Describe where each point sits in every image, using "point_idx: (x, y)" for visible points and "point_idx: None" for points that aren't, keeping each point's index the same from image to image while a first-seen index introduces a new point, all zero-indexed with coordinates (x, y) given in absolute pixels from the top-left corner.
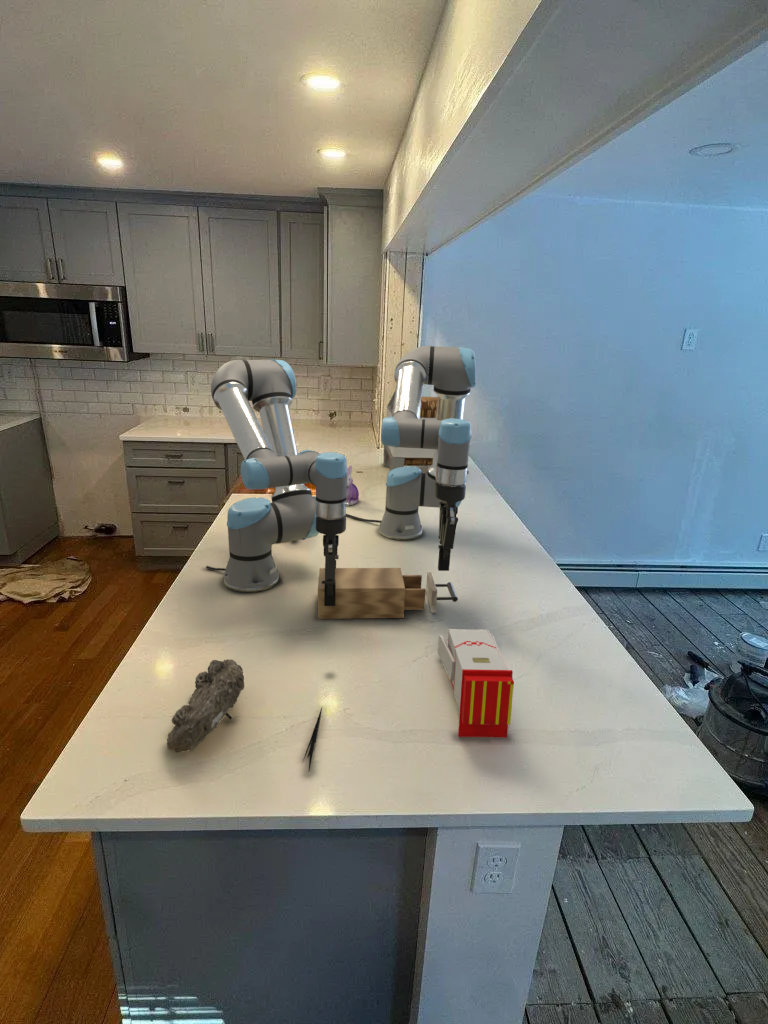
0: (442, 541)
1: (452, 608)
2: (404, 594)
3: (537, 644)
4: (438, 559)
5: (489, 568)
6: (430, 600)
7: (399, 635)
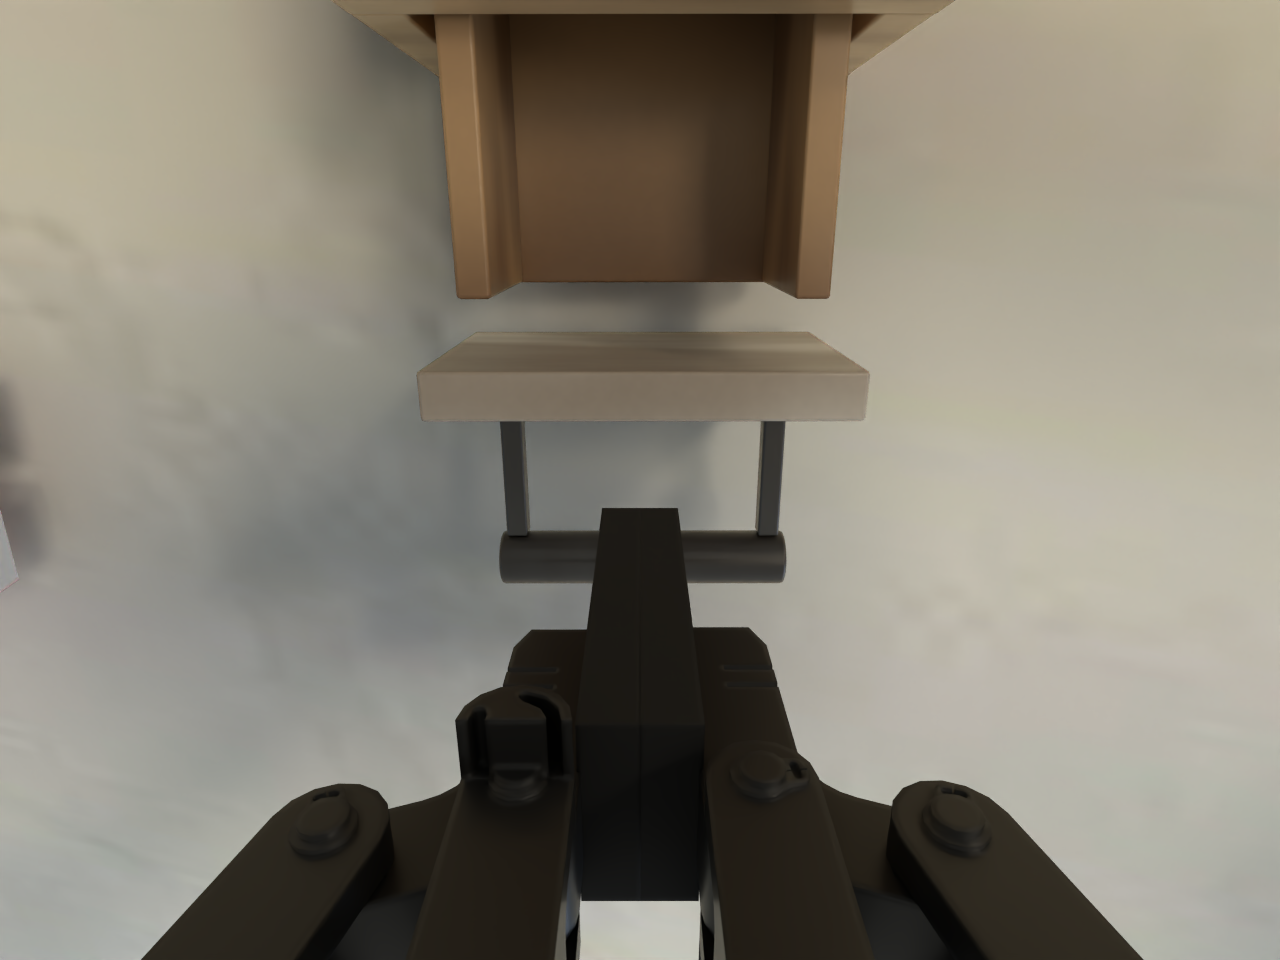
0: (432, 902)
1: None
2: (364, 21)
3: None
4: (681, 566)
5: (1207, 851)
6: (530, 343)
7: (177, 15)
